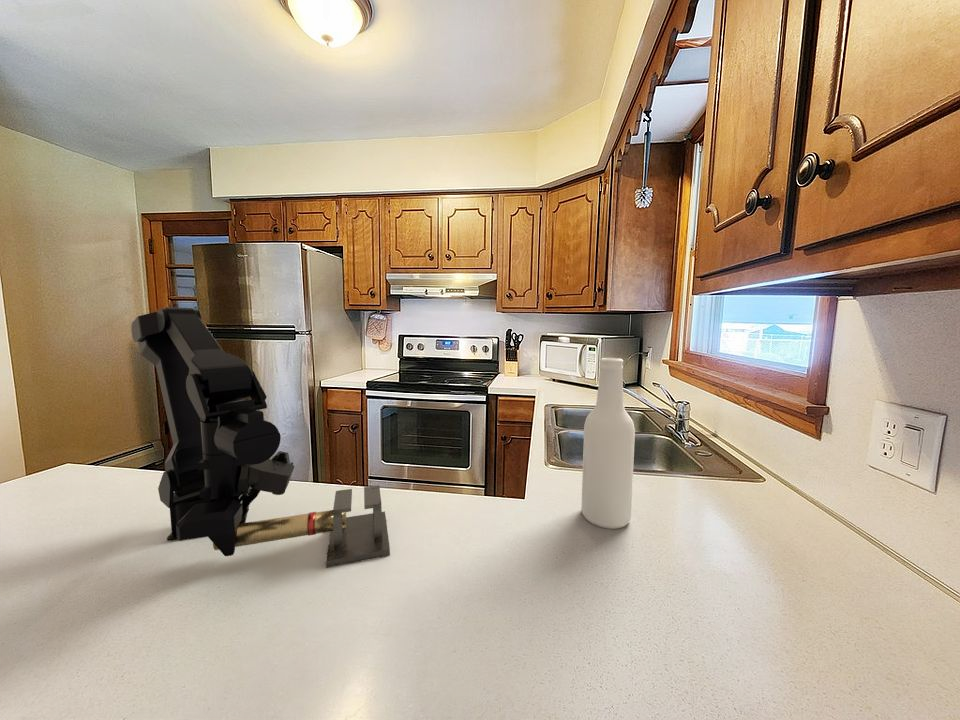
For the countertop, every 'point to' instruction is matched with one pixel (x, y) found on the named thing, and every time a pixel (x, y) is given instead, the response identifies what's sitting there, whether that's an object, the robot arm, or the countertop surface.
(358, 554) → the grey slotted stand
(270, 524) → the tube
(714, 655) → the countertop surface
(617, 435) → the alcohol
